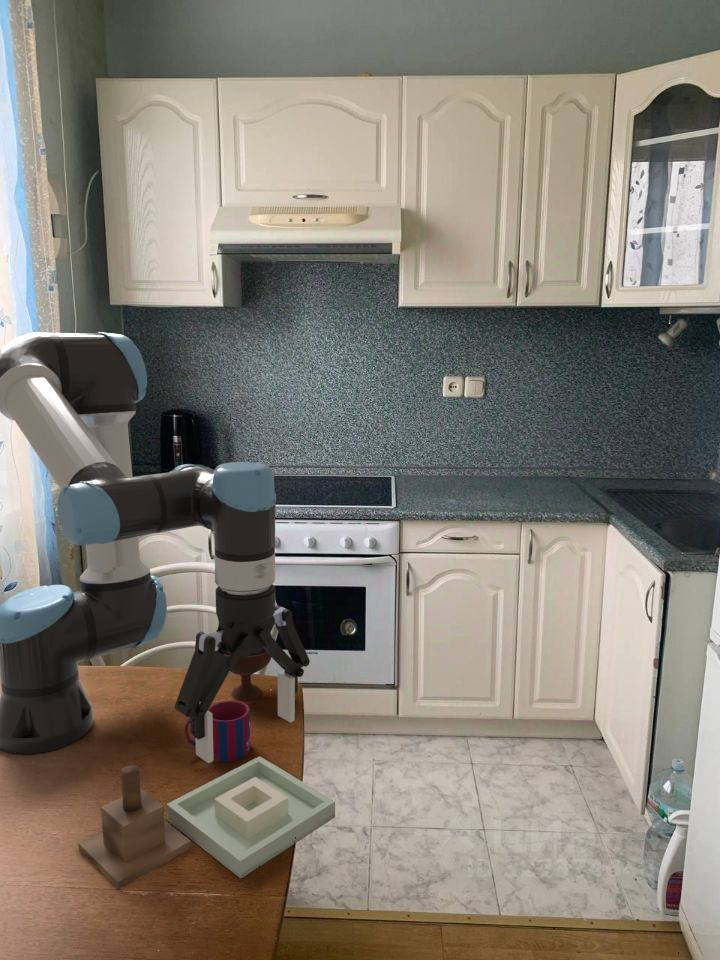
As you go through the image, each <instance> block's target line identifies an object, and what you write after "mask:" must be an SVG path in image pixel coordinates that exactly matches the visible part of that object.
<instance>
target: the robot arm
mask: <svg viewBox="0 0 720 960" xmlns="http://www.w3.org/2000/svg"><path fill="white" fill-rule="evenodd" d="M145 365H146V364H145V362H144V359H143V356H142V354H141V352H140V350H139V348H138V347H137V345H136V344H135V343H134V342H133V340H132V339H130V338H129V337H128V336H126V335H123V334H120V333H119V334H118V333H111V332H109V333H107V332H102V331H101V332H100V331H98V332H38V331H37V332H30V333H27V334H23V335H21V336H18V337H16V338H14V339H12V340H10V341H9V342H7V344H5V345H4V346H3V347H1V349H0V413H1V415H3V416H4V417H6V418H7V419H9V420H12V421H14V422H15V423H16V426H18V428H19V429H20V431H21V432H22V434H23V436H24V437H25V439H26V440H27V441H28V443H29V444H30V446H31V448H32V449H33V450H34V452H35V453H36V455H37V456H38V458H39V459H40V461H41V462H42V465H44V467H45V468H46V470H47V472H48V473H49V474H50V475H51V477H52V478H53V480H54V482H55V483H56V484H57V486H58V487H59V490H60V491H59V494H58V496H57V497H58V498H57V503H56V504H57V505H56V506H57V507H56V508H57V510H56V511H57V518H58V523H59V525H60V526H61V531H62V534H63V536H64V537H65V539H66V540H67V541H68V542H69V543H71V544H73V545H75V546H85V551H86V559H87V560H86V561H87V566H86V567H87V568H86V569H85V570H84V571H83V572H82V573H81V575H80V576H79V586H80V589H79V590H77V591H73V590H72V589H71V587H70V586H68V585H64V584H52V585H47V584H46V585H40V586H36V587H32V588H28V589H25V590H23V591H19V592H18V593H16V594H14V595H12V596H10V597H9V598H7V599H6V600H4V602H2V603H1V604H0V686H1V695H0V750H2V751H3V752H4V751H5V752H7V753H12V754H17V755H18V754H19V755H21V754H22V755H32V754H39V753H40V754H41V753H46V752H49V751H55V750H58V749H61V748H63V747H67V746H69V745H70V744H73V743H75V742H77V741H78V740H80V739H81V738H83V737H84V736H85V735H86V734H87V733H89V731H90V730H91V729H92V727H93V725H94V716H93V706H92V704H91V702H90V700H89V698H88V695H87V694H86V691H85V689H84V688H83V685H82V683H81V681H80V676H79V663H82V662H84V661H85V662H86V661H90V660H92V659H93V660H94V659H96V658H99V657H100V658H101V657H104V656H107V655H111V654H114V653H118V652H122V651H125V650H129V649H130V650H131V649H132V650H133V649H136V648H138V647H140V646H142V645H144V644H147V643H151V642H153V641H155V640H156V639H158V637H159V636H160V634H161V633H162V631H163V630H164V627H165V624H166V619H167V613H168V612H167V611H168V603H167V602H168V601H167V595H166V592H164V585H163V583H162V581H161V580H160V579H159V578H158V577H157V576H155V575H152V574H151V568H150V567H149V566H148V565H146V564H145V563H144V562H143V561H142V560H141V555H140V543H139V537H142V536H147V535H152V534H159V533H165V532H171V531H176V530H182V529H188V528H192V527H202V528H206V529H207V530H210V531H212V532H213V533H214V535H213V536H214V537H213V539H214V583H215V585H216V588H215V614H216V616H217V617H216V618H217V621H218V626H217V629H216V631H215V632H211V633H210V632H209V633H205V632H203V631H199V632H197V634H196V636H195V646H194V652H193V655H192V658H191V660H190V662H189V666H188V668H187V671H186V674H185V676H184V679H183V682H182V685H181V687H180V689H179V692H178V696H177V698H176V701H175V704H174V709H175V711H178V712H180V714H182V715H183V716H184V717H185V716H186V717H187V718H190V724H189V730H190V734H191V736H192V737H193V738H194V739H195V741H196V747H195V755H196V756H197V757H199V758H200V759H201V760H203V761H204V762H206V763H208V764H210V763H212V762H214V760H213V718H212V713H211V712H209V711H208V709H209V707H210V706H212V704H213V701H214V700H215V698H216V697H217V694H218V693H219V691H220V689H221V687H222V685H223V684H224V682H225V680H226V679H227V676H228V675H229V673H230V670H231V668H232V667H235V666H236V664H237V663H238V661H239V659H244V658H246V657H248V656H249V655H251V654H257V653H259V652H261V649H262V648H263V649H264V650H265V651H266V652H267V653H268V654H269V655H270V656H271V659H272V660H273V661H274V662H276V663H277V665H279V667H281V669H283V670H284V671H283V670H281V671H278V672H277V716H278V717H280V718H281V719H284V720H285V721H287V722H289V723H291V724H292V723H293V722H294V721H296V720H295V719H296V718H295V717H296V716H295V714H296V709H295V707H296V705H295V704H296V702H295V701H296V700H295V699H296V698H295V697H296V695H297V694H298V691H299V688H298V682H299V680H298V678H302V677H303V676H304V673H305V671H304V670H305V669H303V668H305V667H308V666H309V665H310V662H311V661H310V658H309V656H308V654H307V651H306V650H305V647H304V645H303V643H302V641H301V639H300V637H299V634H298V632H297V630H296V628H295V625H294V621H293V612H292V610H290V609H287V608H285V607H283V606H280V605H276V587H275V585H274V583H275V581H276V552H275V550H276V548H275V547H276V502H277V494H276V491H275V474H274V471H273V469H272V468H271V467H270V466H269V465H267V464H264V463H261V462H252V461H233V462H226V463H222V464H219V465H217V466H216V467H215V468H214V469H213V468H211V467H209V466H205V465H204V464H192V463H186V464H185V463H184V464H181V465H178V466H176V467H174V468H173V469H172V470H170V471H169V472H162V473H155V474H145V475H136V476H133V468H132V458H131V457H132V456H131V448H130V447H131V446H130V433H129V425H128V424H129V421H130V420H131V419H132V418H133V417H134V416H135V414H136V410H137V409H136V404H137V403H139V402H141V401H142V400H143V399H144V397H145V395H146V393H147V389H146V388H147V386H148V378H147V376H148V375H147V370H146V366H145ZM274 627H276V630H277V632H278V633H279V636H280V638H281V640H282V642H283V644H284V646H285V648H286V650H287V652H288V654H289V655H288V654H287V653H286V651H285V650H284V649H283V648H282V647H281V646H280V645H279V643H278V642H277V640H275V638H273V636H272V637H271V635H272V630H273V628H274ZM270 633H271V635H270ZM218 643H219V645H218ZM217 645H218V647H217ZM226 651H227V652H228V653H229V654H230V657H226V656H224V654H225V652H226Z"/></svg>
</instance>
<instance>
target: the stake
mask: <svg viewBox="0 0 720 960" xmlns="http://www.w3.org/2000/svg"><path fill="white" fill-rule="evenodd" d="M140 776H141V775H140V766H138V765H134V764H133V765H128V766H127V765H126V766H125V767H123V768H122V769H121V770H120V779H121V780H120V781H121V795H122V796H121V797H119V798H117V799H115V800H113V801H110V802H108V803H106V804H105V805H103V806H100V811H101V812H100V813H101V824H102V825H101V827H102V830H100V831H99V832H97V833H95V834H93V835H91V836H89V837H87V838H85V839H83V840H81V841H79V842H78V843H77V845H78V851H79V852H80V853H81V854H82V855H83V856H84V857H85V859H87V860H88V861H89V862H90V863H91V864H92V865H93V866H94V867H95V868H97V870H99V872H100V873H101V874H102V875H103V876H104V877H106V879H108V881H110V883H112V885H113V886H114V887H116V889H117V890H121V889H122V888H124V887H127V885H129V884H131V883H133V882H135V881H136V880H138V879H139V878H141V877H144V876H145V875H147V874H148V873H150V872H152V871H153V870H155V869H157V868H159V867H160V866H162V865H164V864H165V863H167V862H170V861H171V860H172V859H175V858H176V857H178V856H179V855H181V854H183V853H185V852H186V851H188V850H190V849H191V847H192V845H191V844H192V843H191V841H192V840H191V839H190V838H188V837H187V836H185V834H182V832H180V830H178V829H177V828H176V827H175V826H173V825H171V823H170V822H169V823H168V821H166V820H165V810H164V809H165V808H164V805H163V804H162V803H160V802H159V801H158V800H157V799H156V798H154V797H152V796H151V795H150V794H149V793H148V792H146V791H145V790H144V789H142V788H141V777H140Z"/></svg>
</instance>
